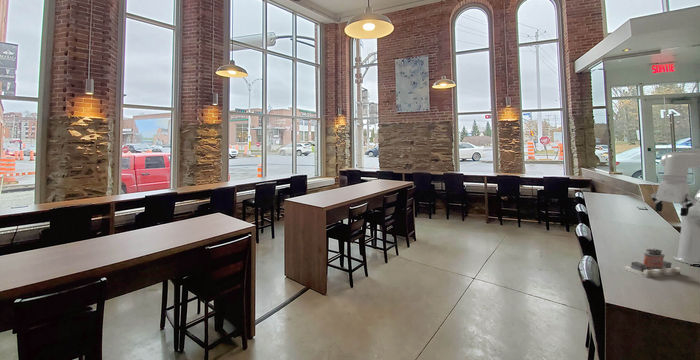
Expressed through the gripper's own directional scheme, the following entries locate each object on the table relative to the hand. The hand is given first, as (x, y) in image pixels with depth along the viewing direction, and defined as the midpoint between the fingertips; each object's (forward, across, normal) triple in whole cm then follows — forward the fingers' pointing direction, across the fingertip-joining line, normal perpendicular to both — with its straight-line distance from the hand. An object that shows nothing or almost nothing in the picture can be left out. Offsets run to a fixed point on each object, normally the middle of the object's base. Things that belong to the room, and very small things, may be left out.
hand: (670, 213), depth 140 cm
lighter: (+26, +3, -12) cm, 29 cm away
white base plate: (+28, +3, -12) cm, 31 cm away
